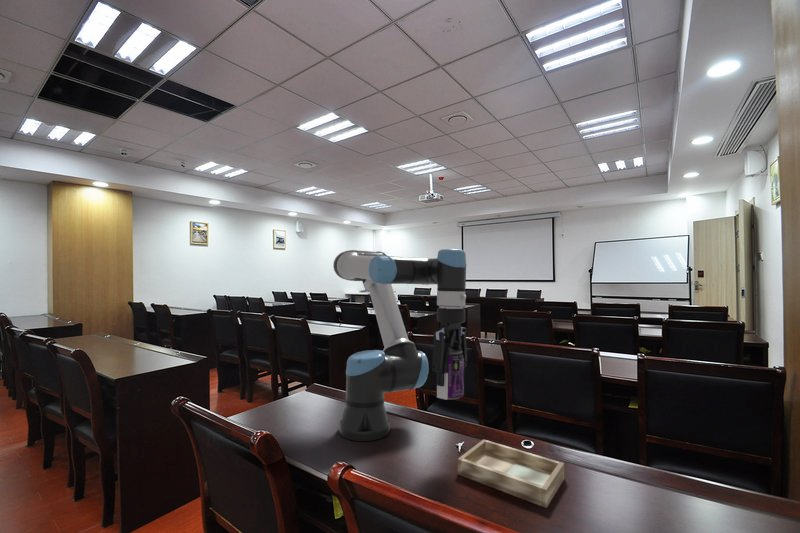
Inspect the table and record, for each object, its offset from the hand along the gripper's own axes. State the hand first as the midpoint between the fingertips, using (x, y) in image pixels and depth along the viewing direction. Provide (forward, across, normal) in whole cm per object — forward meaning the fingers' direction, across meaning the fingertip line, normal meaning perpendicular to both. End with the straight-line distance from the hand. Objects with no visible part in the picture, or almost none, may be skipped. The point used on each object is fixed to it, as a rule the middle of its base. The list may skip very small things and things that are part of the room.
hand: (450, 394), depth 93 cm
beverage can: (+1, 0, 0) cm, 1 cm away
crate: (+15, 0, -16) cm, 22 cm away
